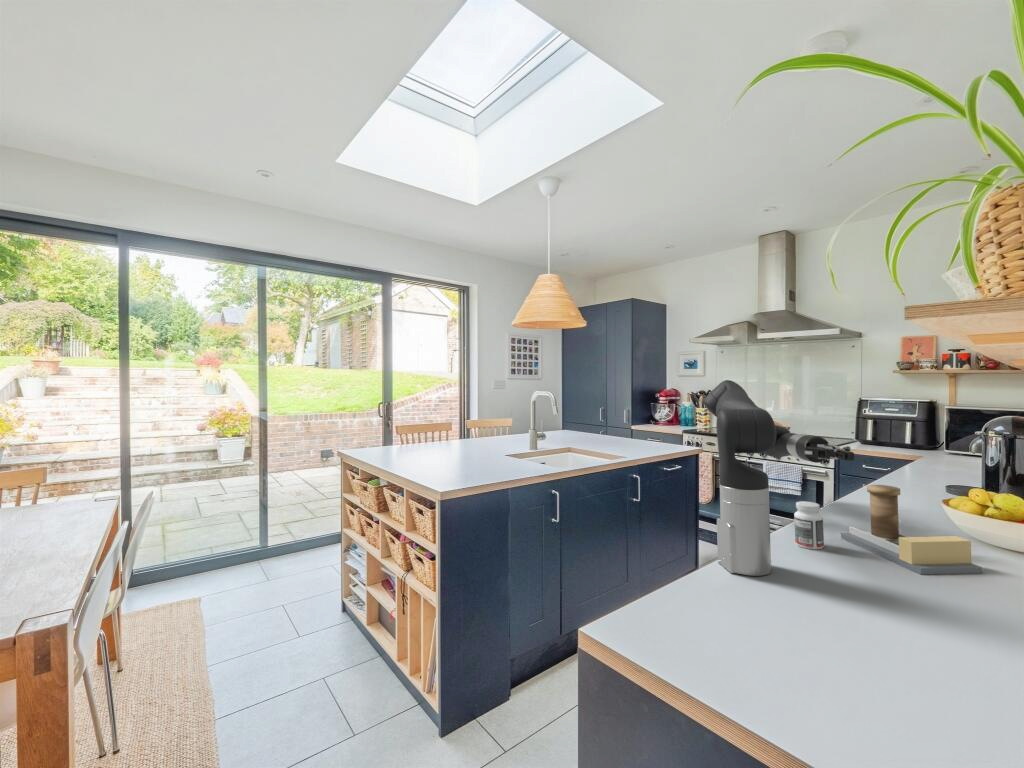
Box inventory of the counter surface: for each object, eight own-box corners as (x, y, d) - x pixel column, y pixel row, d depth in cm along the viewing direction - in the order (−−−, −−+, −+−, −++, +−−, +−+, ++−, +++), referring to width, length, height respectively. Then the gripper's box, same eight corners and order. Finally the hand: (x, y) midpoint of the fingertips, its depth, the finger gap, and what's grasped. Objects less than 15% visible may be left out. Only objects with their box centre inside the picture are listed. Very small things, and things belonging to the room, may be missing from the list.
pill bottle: (815, 541, 109) (814, 500, 109) (829, 550, 103) (828, 506, 103) (790, 541, 109) (789, 500, 110) (803, 550, 104) (801, 506, 104)
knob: (882, 544, 102) (880, 490, 102) (862, 535, 108) (860, 485, 108) (909, 543, 102) (907, 490, 102) (887, 535, 108) (885, 484, 108)
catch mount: (921, 574, 89) (919, 545, 89) (840, 537, 111) (840, 514, 111) (982, 573, 89) (981, 544, 89) (889, 536, 111) (889, 513, 111)
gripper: (784, 435, 133) (824, 442, 115) (829, 434, 132) (876, 441, 115) (785, 460, 133) (825, 471, 115) (830, 459, 132) (877, 470, 115)
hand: (851, 456), depth 115 cm, fingers closed
